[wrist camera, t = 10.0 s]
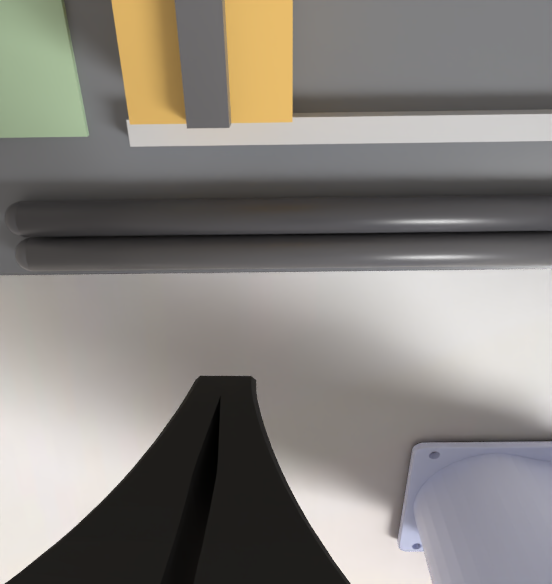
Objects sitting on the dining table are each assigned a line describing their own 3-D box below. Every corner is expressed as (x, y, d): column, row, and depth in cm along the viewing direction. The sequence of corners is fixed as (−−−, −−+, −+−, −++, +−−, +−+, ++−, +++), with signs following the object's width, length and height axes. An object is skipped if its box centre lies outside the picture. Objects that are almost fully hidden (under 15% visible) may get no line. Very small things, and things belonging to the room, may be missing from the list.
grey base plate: (959, -364, 12) (1127, -457, 10) (696, 250, 20) (754, 281, 17) (-203, -339, 12) (-319, -423, 10) (-12, 258, 20) (-51, 290, 18)
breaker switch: (289, -57, 13) (293, -85, 10) (289, 101, 15) (293, 127, 12) (140, -55, 13) (90, -81, 10) (159, 102, 15) (123, 129, 12)
